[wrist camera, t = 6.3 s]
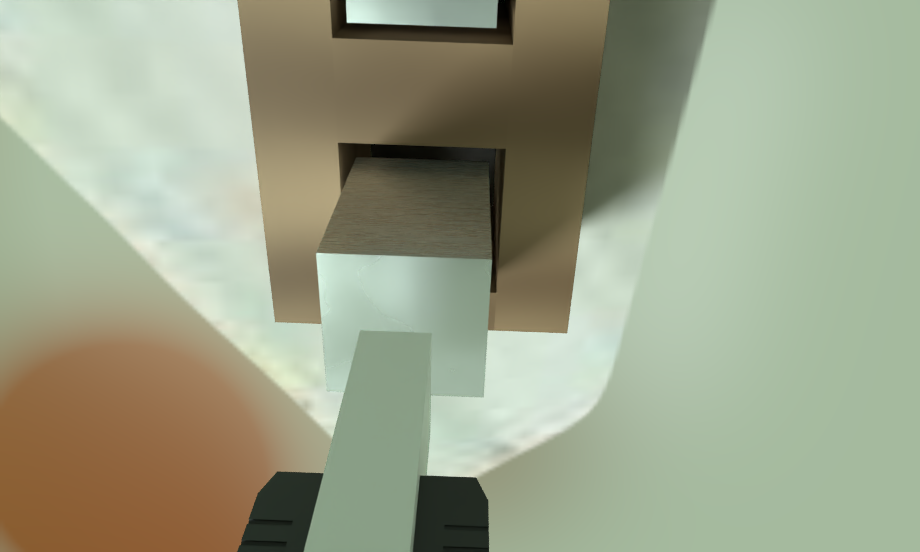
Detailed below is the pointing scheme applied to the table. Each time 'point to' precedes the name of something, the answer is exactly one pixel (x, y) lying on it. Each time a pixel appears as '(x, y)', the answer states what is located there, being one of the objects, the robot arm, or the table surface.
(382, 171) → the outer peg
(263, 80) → the wooden peg hole block
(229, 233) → the table surface
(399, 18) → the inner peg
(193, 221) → the table surface
